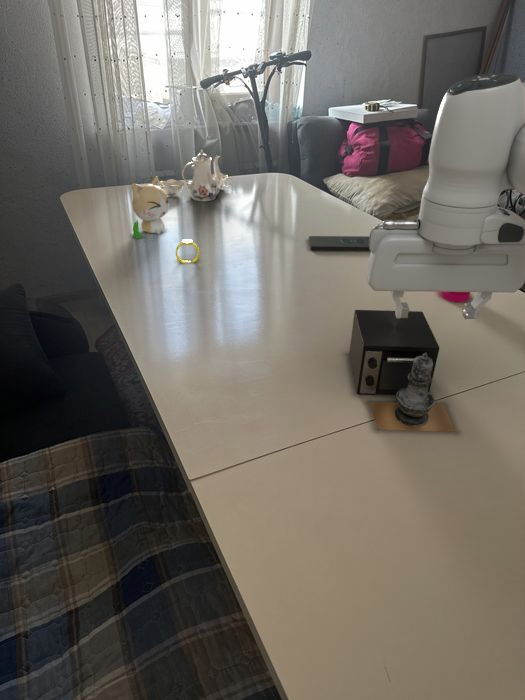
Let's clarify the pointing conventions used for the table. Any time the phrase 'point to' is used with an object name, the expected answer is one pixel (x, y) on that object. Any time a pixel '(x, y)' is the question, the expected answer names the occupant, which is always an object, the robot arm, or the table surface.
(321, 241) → the smart home device
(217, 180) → the chinaware
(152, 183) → the kitten
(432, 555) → the table surface
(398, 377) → the oven
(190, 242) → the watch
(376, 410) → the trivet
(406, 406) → the gray stone statue
